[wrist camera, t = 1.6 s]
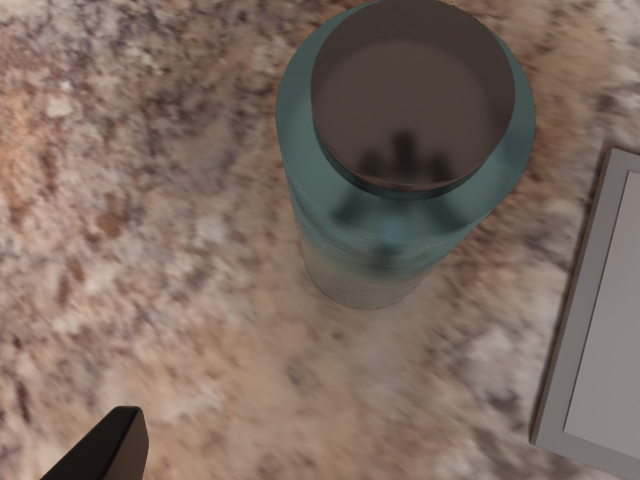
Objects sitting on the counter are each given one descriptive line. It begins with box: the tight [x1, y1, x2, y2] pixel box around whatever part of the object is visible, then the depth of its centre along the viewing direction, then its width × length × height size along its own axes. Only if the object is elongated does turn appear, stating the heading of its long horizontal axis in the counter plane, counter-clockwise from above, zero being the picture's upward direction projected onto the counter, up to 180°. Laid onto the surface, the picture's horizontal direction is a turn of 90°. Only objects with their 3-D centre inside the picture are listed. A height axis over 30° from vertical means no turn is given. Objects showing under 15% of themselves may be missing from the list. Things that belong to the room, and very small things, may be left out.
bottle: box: [276, 0, 536, 310], centre depth 16 cm, size 5×5×13 cm
